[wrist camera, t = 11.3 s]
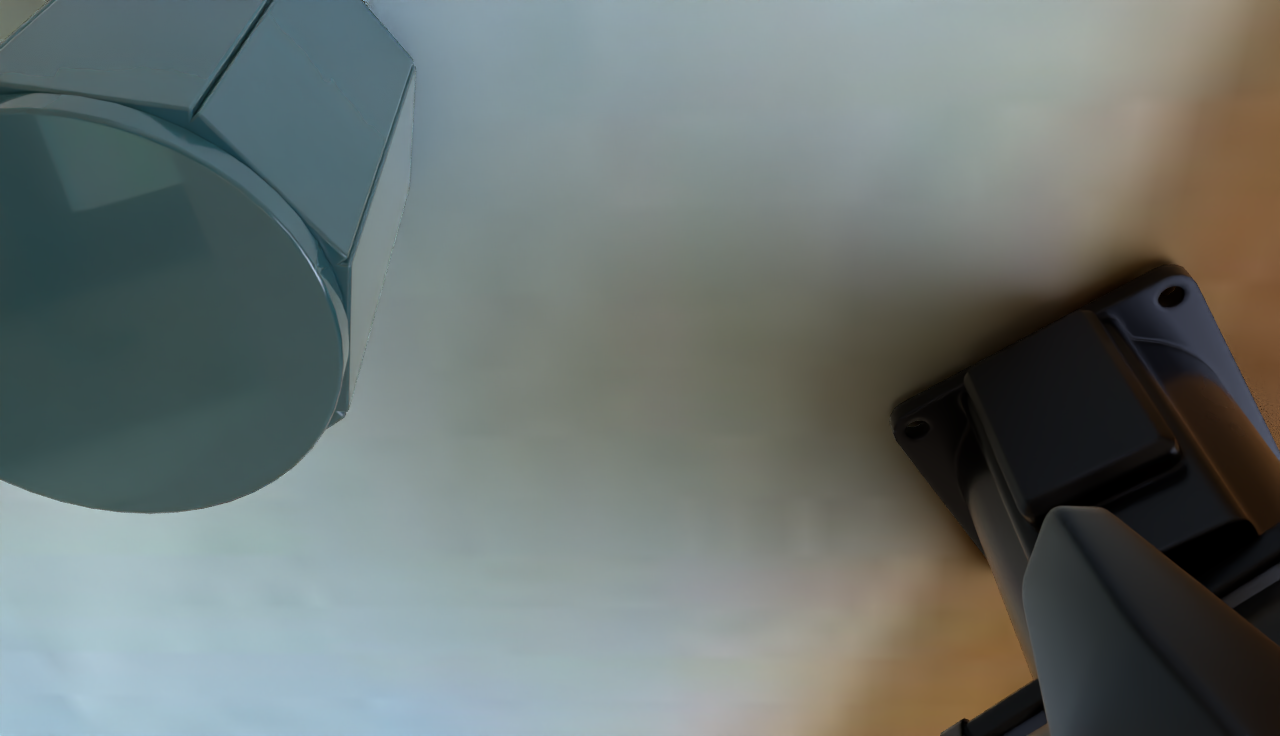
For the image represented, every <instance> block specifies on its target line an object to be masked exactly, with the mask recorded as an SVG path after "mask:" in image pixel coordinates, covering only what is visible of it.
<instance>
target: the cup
mask: <svg viewBox="0 0 1280 736" xmlns="http://www.w3.org/2000/svg"><path fill="white" fill-rule="evenodd" d="M412 64H413V59H412V58H411V57H410V56H409V54H408V53H407V52H406V51H405V50H404V49H403V48H402V46H401V45H400V44H399V43H398V42H397V41H396V40H395V38H394V37H393V36H392V35H391V34H390V33H389V32H388V30H387V29H386V28H385V27H384V26H383V25H382V24H381V22H380V21H379V20H378V19H377V18H376V17H375V16H374V14H373V13H372V12H371V11H370V10H369V9H368V8H367V6H366V5H365V4H364V3H363V2H362V1H361V0H49V1H48V2H47V3H46V4H45V5H43V6H42V7H41V8H40V9H39V10H38V11H37V12H35V13H34V14H33V15H32V16H31V17H30V18H29V19H27V20H26V21H25V22H24V23H23V24H22V25H20V26H19V27H18V28H17V29H16V30H15V31H14V32H12V33H11V34H10V35H9V36H8V37H7V38H6V39H4V40H3V41H2V42H1V43H0V480H2V481H5V482H7V483H9V484H12V485H14V486H17V487H19V488H22V489H24V490H27V491H29V492H32V493H35V494H38V495H41V496H44V497H48V498H51V499H54V500H57V501H60V502H65V503H69V504H74V505H78V506H83V507H87V508H92V509H100V510H107V511H114V512H124V513H145V514H153V513H174V512H183V511H190V510H197V509H204V508H208V507H212V506H215V505H219V504H223V503H227V502H230V501H233V500H236V499H238V498H241V497H243V496H246V495H249V494H251V493H254V492H255V491H257V490H259V489H261V488H263V487H265V486H266V485H268V484H270V483H272V482H274V481H275V480H277V479H278V478H279V477H281V476H282V475H284V474H285V473H286V472H288V471H289V470H290V469H292V468H293V467H294V466H296V465H297V464H298V463H299V462H300V461H301V460H302V459H303V458H304V457H305V455H306V454H307V453H308V452H309V451H310V450H311V449H312V448H313V447H314V445H315V444H316V443H317V441H318V440H319V438H320V437H321V436H322V434H323V433H324V431H325V430H326V429H328V428H329V427H331V426H332V425H334V424H335V423H337V422H338V421H340V420H342V419H343V418H344V417H345V415H346V412H348V410H349V408H350V405H351V401H352V397H353V394H354V390H355V386H356V383H357V379H358V375H359V372H360V368H361V364H362V361H363V357H364V353H365V350H366V346H367V343H368V339H369V335H370V332H371V328H372V324H373V321H374V317H375V313H376V310H377V306H378V302H379V299H380V295H381V291H382V288H383V284H384V280H385V277H386V273H387V270H388V266H389V262H390V259H391V255H392V251H393V248H394V244H395V240H396V237H397V233H398V229H399V226H400V222H401V218H402V215H403V211H404V208H405V204H406V200H407V197H408V193H409V189H410V172H411V153H412V134H413V115H414V96H415V77H416V67H415V66H414V65H412Z"/></svg>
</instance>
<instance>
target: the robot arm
mask: <svg viewBox="0 0 1280 736" xmlns="http://www.w3.org/2000/svg"><path fill="white" fill-rule="evenodd" d="M1172 286H1176V287H1175V289H1174V291H1172V292H1171V293H1170V294H1169V295H1166V296H1163V297H1159V296H1160V294H1161V292H1163V291H1164V290H1165V289H1166V288H1169V287H1172ZM917 420H921V421H923V422H922V423H921V424H920V425H918V426H915V427H907V426H908V425H909V424H910V423H911V422H914V421H917ZM890 425H891V428H892V431H893V434H894V437H895V439H896V441H897V443H898V444H899V445H900V446H901V448H902V449H903V450H904V452H905V453H906V454H907V456H908V457H909V458H910V459H911V461H912V462H913V463H914V465H915V466H916V467H917V469H918V470H919V471H920V473H921V474H922V475H923V476H924V478H925V479H926V480H927V482H928V483H929V484H930V486H931V487H932V488H933V490H934V491H935V492H936V493H937V495H938V496H939V497H940V499H941V500H942V501H943V503H944V504H945V505H946V507H947V508H948V509H949V510H950V512H951V513H952V514H953V516H954V517H955V518H956V520H957V521H958V522H959V523H960V525H961V526H962V527H963V529H964V530H965V531H966V533H967V534H968V535H969V537H970V538H971V539H972V540H973V542H974V543H975V544H976V546H977V547H978V548H979V550H980V551H981V552H982V554H983V555H984V556H985V557H986V559H987V560H988V563H989V565H990V568H991V570H992V573H993V576H994V578H995V581H996V583H997V586H998V589H999V591H1000V594H1001V596H1002V599H1003V602H1004V604H1005V607H1006V610H1007V612H1008V615H1009V617H1010V620H1011V623H1012V625H1013V628H1014V630H1015V633H1016V636H1017V638H1018V641H1019V643H1020V646H1021V649H1022V651H1023V654H1024V656H1025V659H1026V662H1027V664H1028V667H1029V669H1030V672H1031V675H1032V677H1033V680H1032V681H1031V682H1029V683H1028V684H1026V685H1025V686H1023V687H1022V688H1020V689H1018V690H1017V691H1015V692H1014V693H1012V694H1011V695H1009V696H1008V697H1006V698H1004V699H1003V700H1001V701H1000V702H998V703H997V704H995V705H994V706H992V707H990V708H989V709H987V710H986V711H984V712H983V713H981V714H980V715H978V716H976V717H975V718H973V719H972V720H970V721H969V720H968V719H965V718H964V719H962V720H960V721H959V722H957V723H956V724H954V725H953V726H951V727H950V728H948V729H946V730H945V731H943V732H942V733H941V734H940V736H1280V452H1279V450H1278V448H1277V446H1276V444H1275V441H1274V439H1273V437H1272V435H1271V433H1270V431H1269V429H1268V427H1267V425H1266V423H1265V421H1264V419H1263V417H1262V415H1261V413H1260V411H1259V409H1258V407H1257V405H1256V403H1255V401H1254V399H1253V397H1252V395H1251V393H1250V391H1249V389H1248V387H1247V385H1246V383H1245V381H1244V379H1243V376H1242V374H1241V372H1240V370H1239V368H1238V366H1237V364H1236V362H1235V360H1234V358H1233V356H1232V354H1231V352H1230V350H1229V348H1228V346H1227V344H1226V342H1225V340H1224V338H1223V336H1222V334H1221V332H1220V330H1219V328H1218V326H1217V324H1216V322H1215V320H1214V318H1213V316H1212V314H1211V311H1210V309H1209V307H1208V305H1207V303H1206V301H1205V299H1204V297H1203V295H1202V293H1201V291H1200V289H1199V287H1198V285H1197V283H1196V282H1195V281H1194V280H1193V278H1192V277H1191V276H1190V275H1189V273H1188V272H1187V271H1186V270H1185V269H1184V268H1183V267H1181V266H1178V265H1175V264H1170V265H1163V266H1160V267H1157V268H1154V269H1152V270H1151V271H1149V272H1147V273H1145V274H1143V275H1141V276H1139V277H1137V278H1136V279H1134V280H1132V281H1130V282H1128V283H1126V284H1124V285H1122V286H1121V287H1119V288H1117V289H1115V290H1113V291H1111V292H1109V293H1107V294H1106V295H1104V296H1102V297H1100V298H1098V299H1096V300H1094V301H1092V302H1091V303H1089V304H1087V305H1085V306H1083V307H1081V308H1079V309H1077V310H1075V311H1074V312H1072V313H1070V314H1068V315H1066V316H1064V317H1062V318H1060V319H1059V320H1057V321H1055V322H1053V323H1051V324H1049V325H1047V326H1045V327H1044V328H1042V329H1040V330H1038V331H1036V332H1034V333H1032V334H1030V335H1029V336H1027V337H1025V338H1023V339H1021V340H1019V341H1017V342H1015V343H1014V344H1012V345H1010V346H1008V347H1006V348H1004V349H1002V350H1000V351H999V352H997V353H995V354H993V355H991V356H989V357H987V358H985V359H984V360H982V361H980V362H978V363H976V364H974V365H972V366H970V367H968V368H967V369H965V370H963V371H961V372H959V373H957V374H955V375H953V376H952V377H950V378H948V379H946V380H944V381H942V382H940V383H938V384H937V385H935V386H933V387H931V388H929V389H927V390H925V391H923V392H922V393H920V394H918V395H916V396H914V397H912V398H910V399H908V400H907V401H905V402H903V403H901V404H900V405H899V406H897V407H896V408H895V409H894V410H893V412H892V414H891V415H890Z"/></svg>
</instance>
